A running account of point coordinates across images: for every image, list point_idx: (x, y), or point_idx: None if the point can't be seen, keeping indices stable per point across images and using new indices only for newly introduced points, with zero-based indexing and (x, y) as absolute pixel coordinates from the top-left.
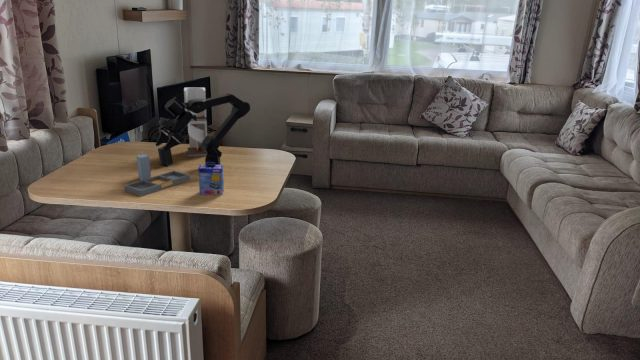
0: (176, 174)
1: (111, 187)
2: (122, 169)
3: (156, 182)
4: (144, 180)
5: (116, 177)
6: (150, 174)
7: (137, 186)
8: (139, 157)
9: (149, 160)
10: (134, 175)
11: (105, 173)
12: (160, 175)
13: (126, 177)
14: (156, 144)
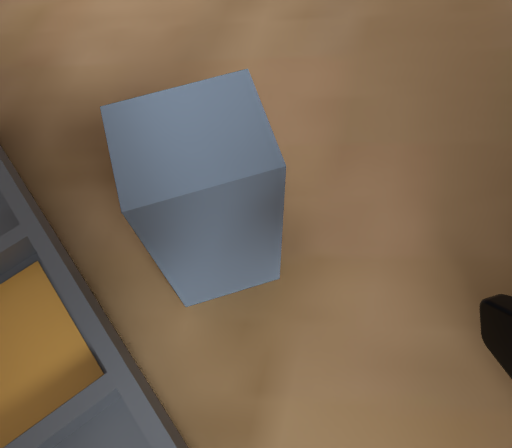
0: None
1: (103, 60)
2: (508, 105)
3: (24, 346)
4: (16, 236)
5: (311, 77)
6: (176, 292)
7: (2, 197)
8: (134, 99)
9: (139, 236)
10: (336, 184)
11: (416, 19)
12: (107, 390)
13: (296, 133)
14: (495, 315)
